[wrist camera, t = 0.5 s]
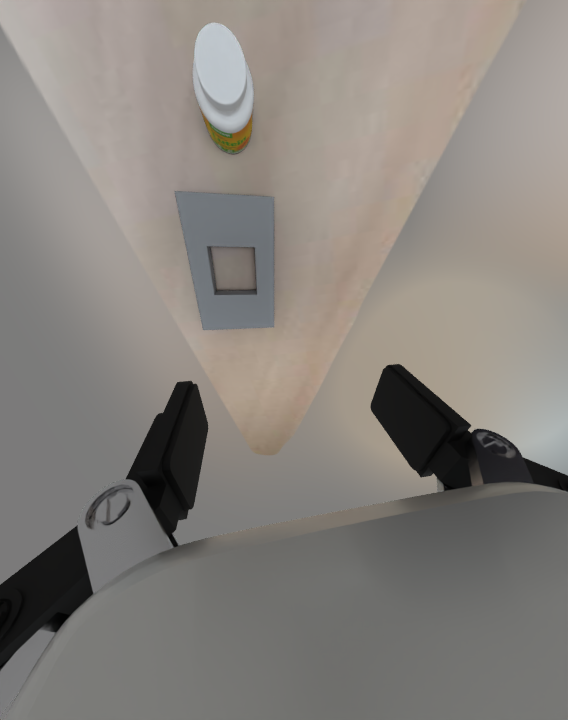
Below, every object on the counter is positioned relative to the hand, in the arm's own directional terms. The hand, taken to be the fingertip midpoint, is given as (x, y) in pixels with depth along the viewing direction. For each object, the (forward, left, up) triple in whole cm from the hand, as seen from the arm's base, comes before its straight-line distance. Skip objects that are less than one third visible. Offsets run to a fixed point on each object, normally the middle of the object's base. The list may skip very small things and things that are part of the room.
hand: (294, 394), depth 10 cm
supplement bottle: (-18, -3, -29) cm, 34 cm away
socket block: (-2, -4, -28) cm, 29 cm away
